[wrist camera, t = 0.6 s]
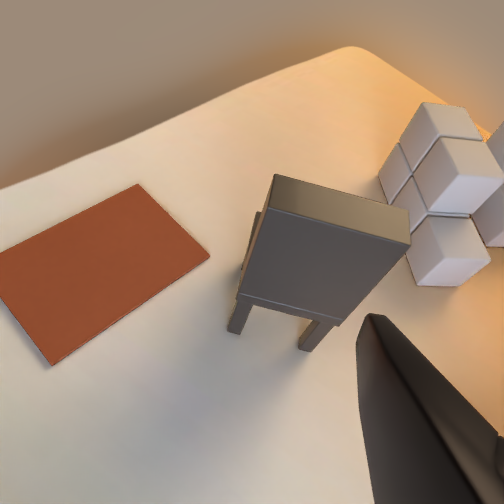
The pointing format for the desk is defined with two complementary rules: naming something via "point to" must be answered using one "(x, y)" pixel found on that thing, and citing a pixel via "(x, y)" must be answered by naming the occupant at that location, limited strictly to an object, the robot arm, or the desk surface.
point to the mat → (94, 270)
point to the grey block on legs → (317, 255)
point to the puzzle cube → (447, 193)
